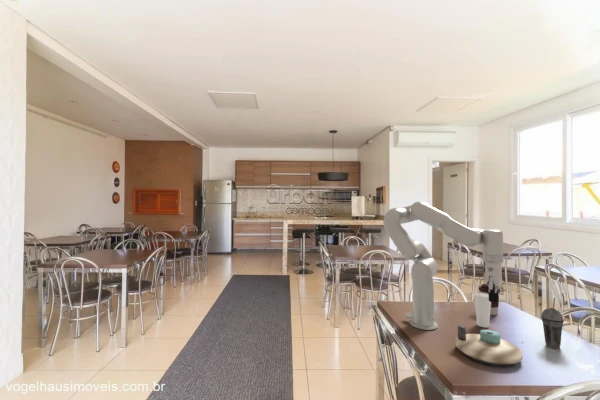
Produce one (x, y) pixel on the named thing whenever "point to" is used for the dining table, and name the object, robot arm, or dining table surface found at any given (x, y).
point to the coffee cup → (494, 305)
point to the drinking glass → (482, 309)
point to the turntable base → (488, 362)
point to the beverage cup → (552, 327)
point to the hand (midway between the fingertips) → (493, 301)
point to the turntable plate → (487, 348)
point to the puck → (490, 336)
